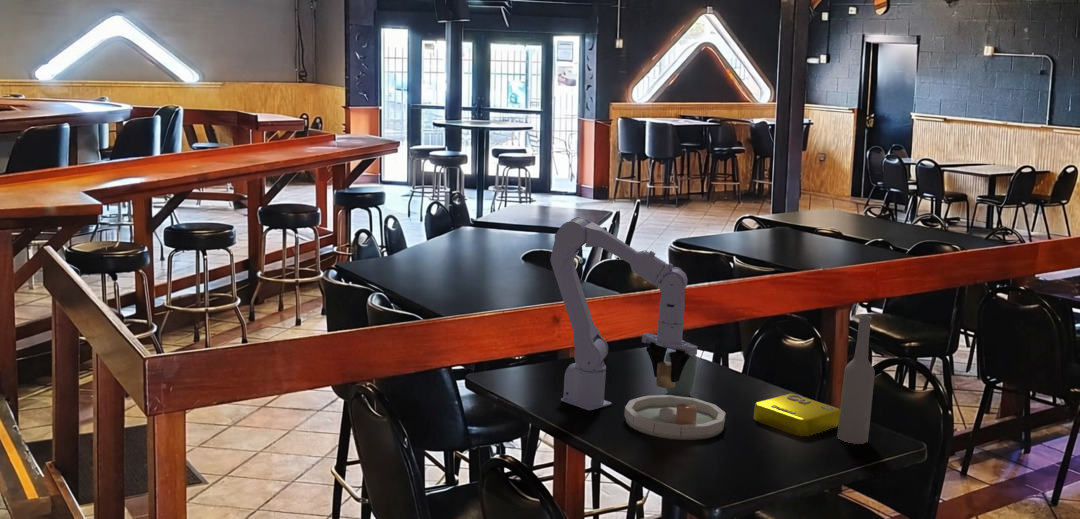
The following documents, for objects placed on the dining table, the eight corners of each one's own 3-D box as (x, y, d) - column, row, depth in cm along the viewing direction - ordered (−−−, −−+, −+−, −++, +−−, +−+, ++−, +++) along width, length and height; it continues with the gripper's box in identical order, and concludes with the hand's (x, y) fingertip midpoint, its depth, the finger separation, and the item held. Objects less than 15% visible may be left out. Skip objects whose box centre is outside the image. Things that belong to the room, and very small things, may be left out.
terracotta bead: (671, 427, 230) (672, 405, 229) (683, 423, 233) (685, 402, 232) (687, 433, 227) (688, 411, 226) (699, 429, 230) (701, 407, 229)
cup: (693, 400, 254) (696, 361, 252) (661, 397, 255) (664, 357, 253) (695, 391, 261) (698, 353, 259) (664, 388, 263) (666, 349, 261)
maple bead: (652, 384, 241) (653, 363, 240) (664, 381, 244) (665, 360, 243) (667, 389, 238) (668, 368, 237) (679, 385, 241) (680, 364, 240)
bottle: (850, 445, 227) (863, 320, 222) (830, 435, 233) (843, 313, 228) (874, 443, 230) (888, 319, 225) (854, 433, 236) (867, 312, 231)
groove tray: (605, 419, 237) (606, 406, 236) (666, 401, 252) (667, 389, 251) (682, 447, 221) (683, 433, 221) (743, 426, 236) (744, 413, 236)
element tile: (749, 420, 242) (751, 400, 242) (789, 409, 252) (791, 390, 251) (803, 439, 231) (805, 419, 230) (842, 427, 241) (845, 407, 240)
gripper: (635, 317, 241) (631, 374, 243) (685, 330, 231) (681, 389, 233) (654, 313, 246) (650, 369, 248) (704, 326, 236) (700, 384, 238)
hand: (666, 378), depth 241 cm, fingers closed on maple bead, 4 cm apart
